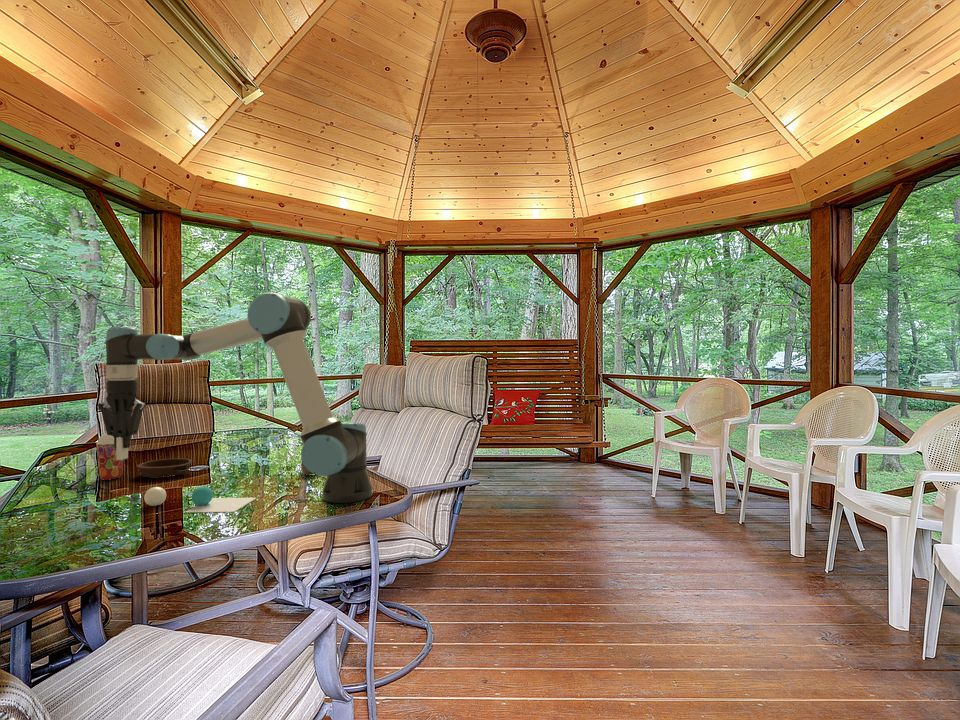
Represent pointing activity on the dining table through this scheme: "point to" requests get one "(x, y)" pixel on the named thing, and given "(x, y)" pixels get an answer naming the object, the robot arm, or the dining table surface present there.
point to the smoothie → (108, 458)
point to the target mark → (222, 505)
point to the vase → (305, 469)
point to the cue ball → (155, 496)
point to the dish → (164, 467)
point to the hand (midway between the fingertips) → (122, 458)
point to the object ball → (202, 496)
